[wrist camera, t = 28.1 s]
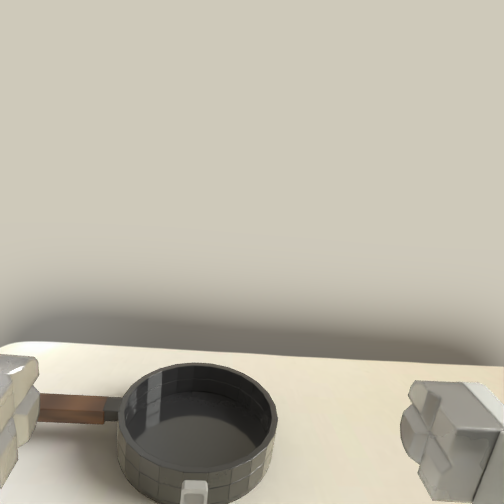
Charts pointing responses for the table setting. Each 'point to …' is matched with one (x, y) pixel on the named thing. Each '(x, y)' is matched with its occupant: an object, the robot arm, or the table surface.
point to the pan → (195, 432)
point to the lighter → (194, 492)
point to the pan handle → (78, 408)
